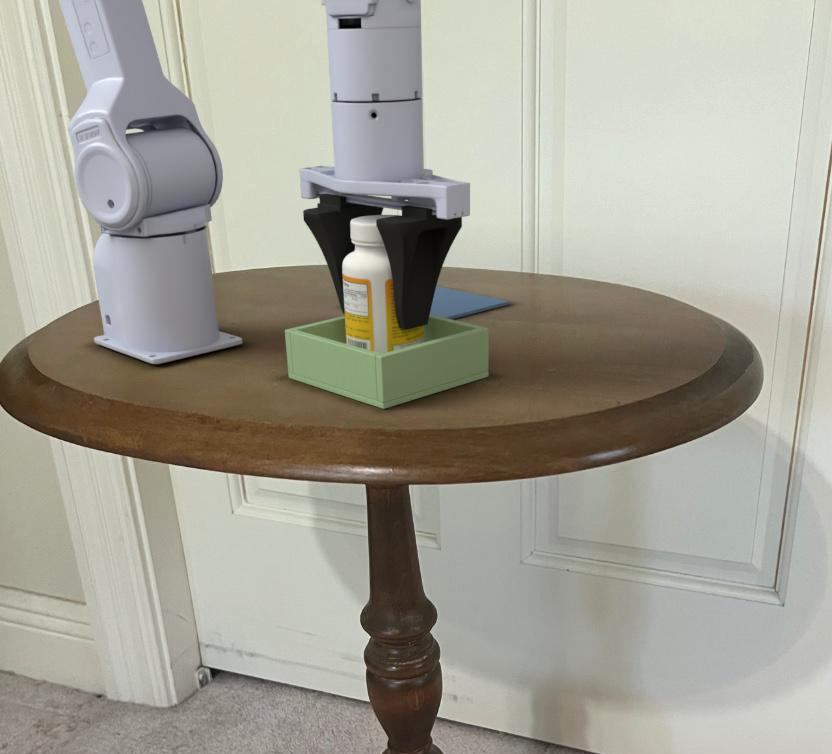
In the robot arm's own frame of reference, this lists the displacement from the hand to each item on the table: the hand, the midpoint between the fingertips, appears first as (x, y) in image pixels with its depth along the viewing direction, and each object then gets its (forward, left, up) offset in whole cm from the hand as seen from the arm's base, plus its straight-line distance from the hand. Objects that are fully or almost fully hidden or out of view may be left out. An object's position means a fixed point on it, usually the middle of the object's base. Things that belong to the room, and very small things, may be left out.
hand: (384, 319), depth 74 cm
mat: (-13, +17, -4) cm, 22 cm away
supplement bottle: (0, 0, -3) cm, 3 cm away
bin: (0, 0, -4) cm, 4 cm away
